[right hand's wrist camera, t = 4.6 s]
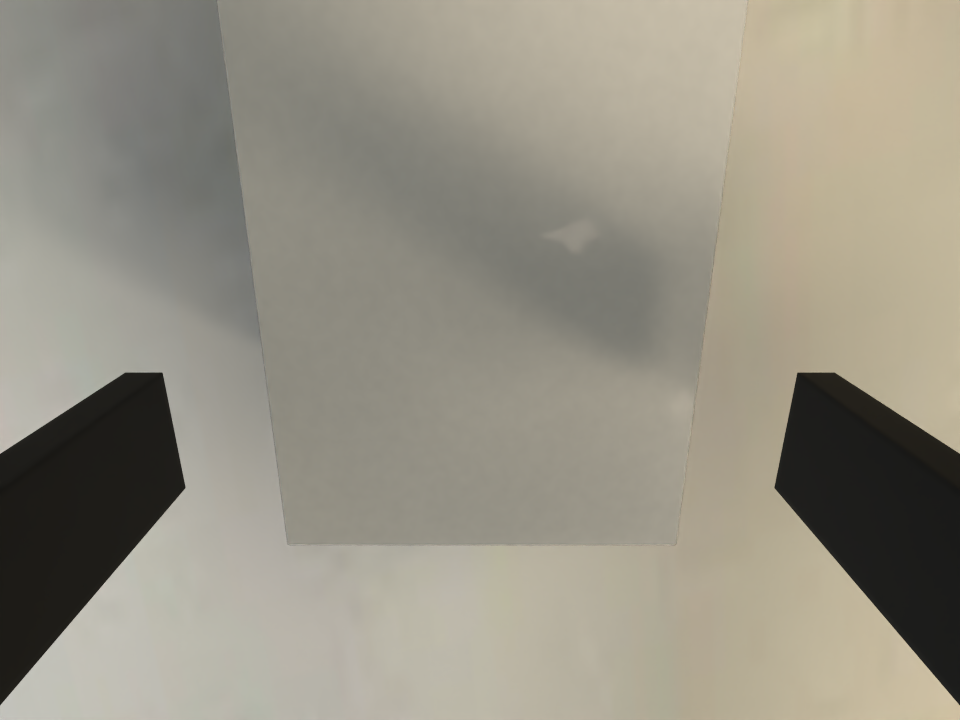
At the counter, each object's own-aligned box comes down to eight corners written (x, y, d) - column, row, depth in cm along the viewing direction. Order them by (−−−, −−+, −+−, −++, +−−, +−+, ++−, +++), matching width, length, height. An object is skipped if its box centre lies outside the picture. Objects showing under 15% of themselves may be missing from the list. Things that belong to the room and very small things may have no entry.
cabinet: (314, -212, 19) (136, -602, 9) (648, -212, 19) (830, -603, 9) (359, 397, 26) (286, 546, 16) (602, 397, 26) (677, 546, 16)
